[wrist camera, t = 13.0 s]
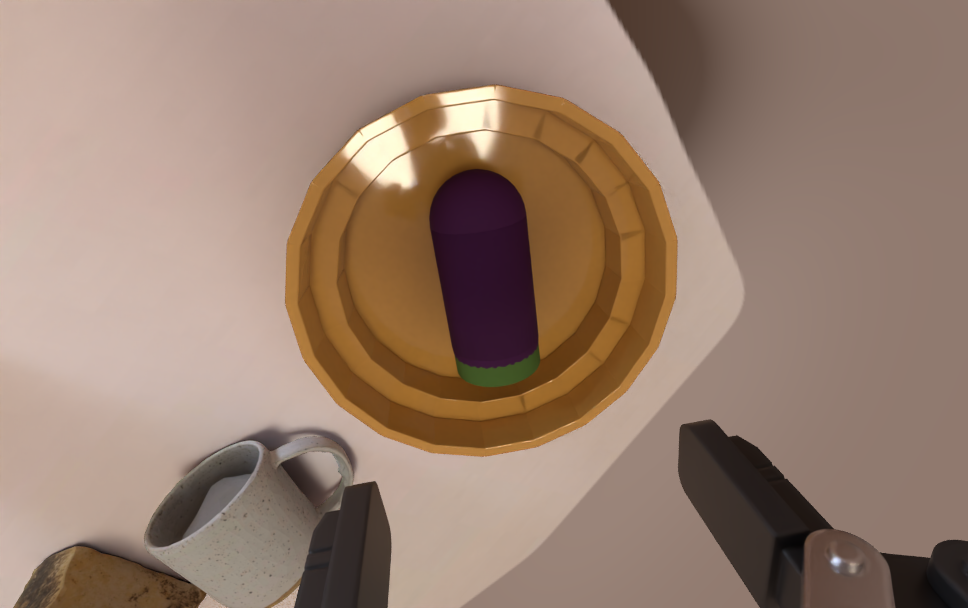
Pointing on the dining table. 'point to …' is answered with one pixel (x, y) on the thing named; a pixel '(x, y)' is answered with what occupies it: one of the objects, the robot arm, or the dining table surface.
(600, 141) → the bowl
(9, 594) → the dining table surface
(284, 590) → the ceramic mug
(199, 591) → the rock
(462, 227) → the aubergine
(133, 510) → the dining table surface
